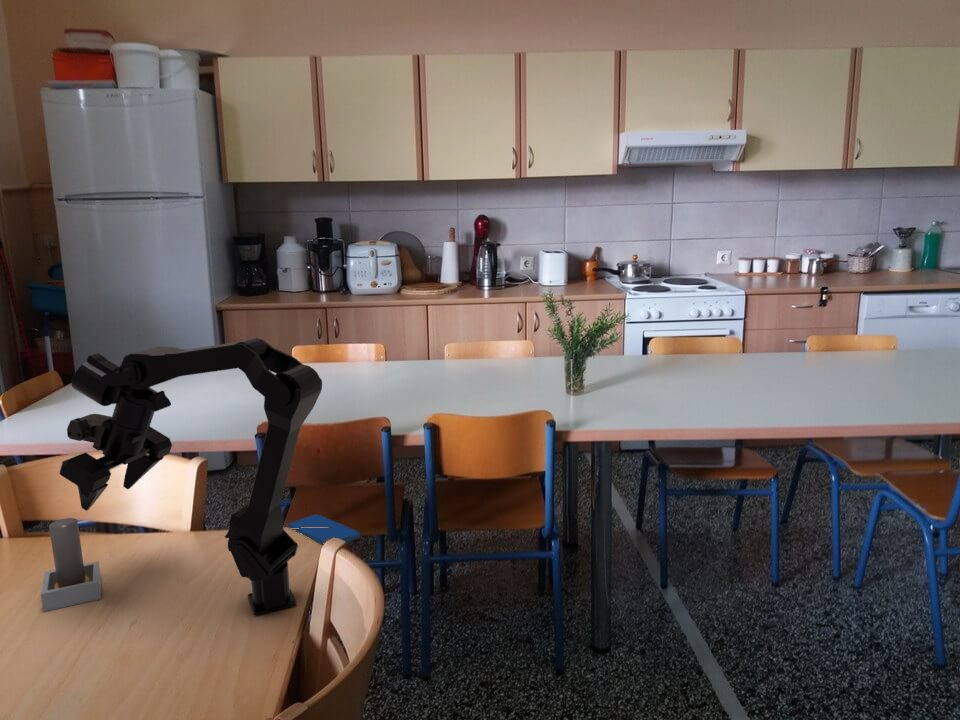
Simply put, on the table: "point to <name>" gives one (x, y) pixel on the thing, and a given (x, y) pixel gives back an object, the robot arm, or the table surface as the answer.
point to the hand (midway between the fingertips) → (106, 498)
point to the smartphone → (323, 529)
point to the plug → (67, 553)
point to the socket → (71, 589)
